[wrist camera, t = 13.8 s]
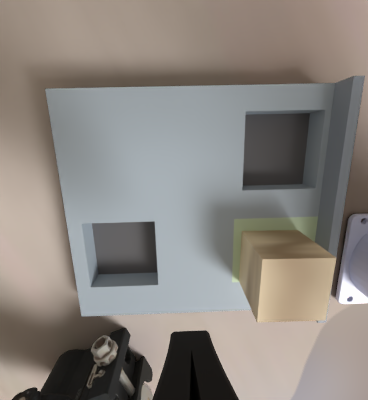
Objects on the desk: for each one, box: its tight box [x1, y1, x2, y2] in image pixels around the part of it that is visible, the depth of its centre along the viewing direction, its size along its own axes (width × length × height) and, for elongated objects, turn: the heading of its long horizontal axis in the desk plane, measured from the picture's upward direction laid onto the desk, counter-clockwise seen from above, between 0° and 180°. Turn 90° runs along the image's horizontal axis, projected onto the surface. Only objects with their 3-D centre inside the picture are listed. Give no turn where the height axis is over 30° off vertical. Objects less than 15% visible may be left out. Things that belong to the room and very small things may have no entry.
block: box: [239, 230, 336, 322], centre depth 14 cm, size 4×4×4 cm
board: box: [45, 76, 365, 323], centre depth 16 cm, size 18×16×4 cm
